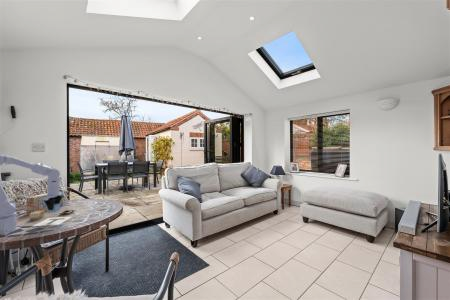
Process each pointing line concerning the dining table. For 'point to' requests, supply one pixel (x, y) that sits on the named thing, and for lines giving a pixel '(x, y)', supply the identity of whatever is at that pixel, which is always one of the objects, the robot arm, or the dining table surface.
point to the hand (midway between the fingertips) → (53, 208)
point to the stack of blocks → (38, 203)
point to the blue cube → (55, 209)
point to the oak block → (37, 215)
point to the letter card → (53, 221)
